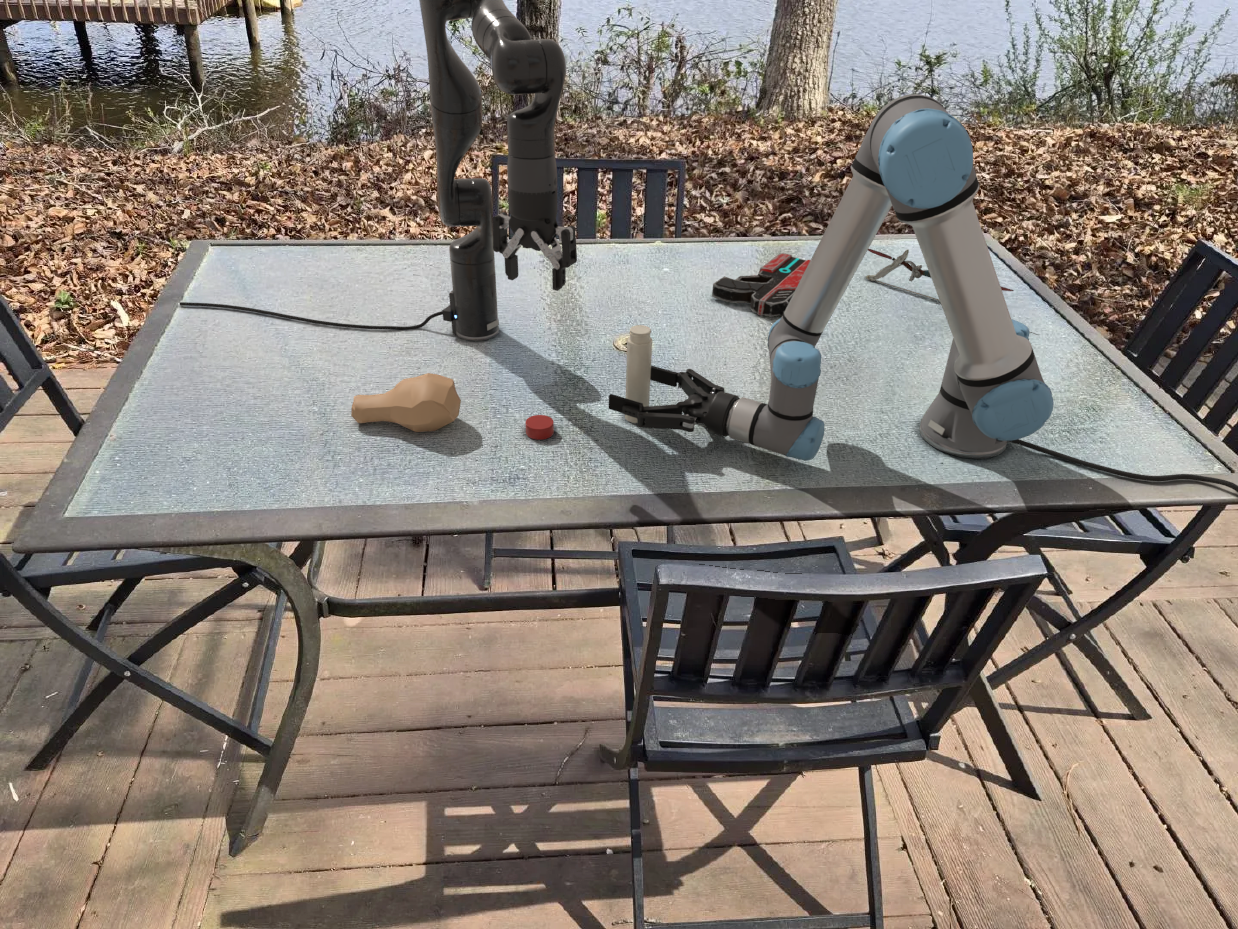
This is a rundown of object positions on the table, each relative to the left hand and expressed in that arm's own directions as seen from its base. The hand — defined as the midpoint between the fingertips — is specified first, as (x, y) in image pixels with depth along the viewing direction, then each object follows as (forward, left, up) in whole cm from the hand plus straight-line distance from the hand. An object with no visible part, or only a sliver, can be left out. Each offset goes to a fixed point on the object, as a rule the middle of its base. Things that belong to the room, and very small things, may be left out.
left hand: (535, 283), depth 143 cm
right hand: (+12, +12, -22) cm, 28 cm away
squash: (-23, -7, -28) cm, 37 cm away
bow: (+61, +94, -28) cm, 116 cm away
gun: (+24, +82, -28) cm, 90 cm away
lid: (0, 0, -27) cm, 27 cm away
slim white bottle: (+14, +12, -28) cm, 34 cm away
